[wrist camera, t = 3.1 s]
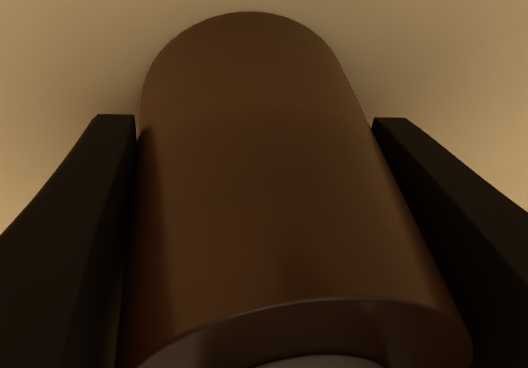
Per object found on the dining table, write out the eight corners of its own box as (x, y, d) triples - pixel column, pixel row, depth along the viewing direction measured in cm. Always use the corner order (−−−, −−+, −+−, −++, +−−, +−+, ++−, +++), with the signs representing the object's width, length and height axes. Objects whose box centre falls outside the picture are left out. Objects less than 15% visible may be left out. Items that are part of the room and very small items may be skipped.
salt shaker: (387, 80, 10) (587, 419, 5) (267, 206, 12) (326, 527, 7) (212, -38, 8) (268, 340, 3) (105, 139, 10) (37, 525, 5)
